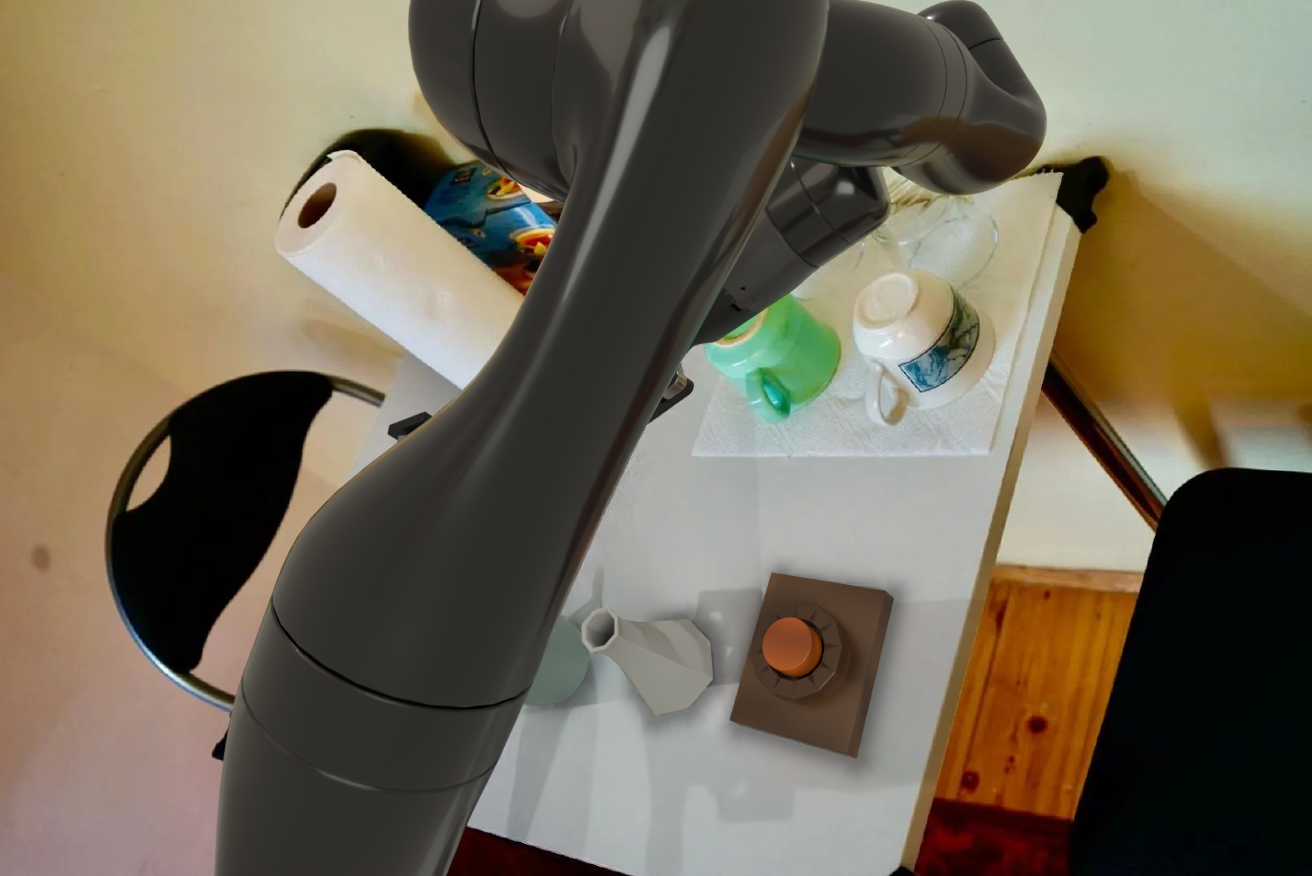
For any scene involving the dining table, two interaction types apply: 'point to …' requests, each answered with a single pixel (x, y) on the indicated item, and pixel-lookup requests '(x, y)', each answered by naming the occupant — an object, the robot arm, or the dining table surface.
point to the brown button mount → (842, 680)
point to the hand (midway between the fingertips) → (568, 381)
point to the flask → (653, 657)
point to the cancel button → (792, 647)
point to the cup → (560, 666)
